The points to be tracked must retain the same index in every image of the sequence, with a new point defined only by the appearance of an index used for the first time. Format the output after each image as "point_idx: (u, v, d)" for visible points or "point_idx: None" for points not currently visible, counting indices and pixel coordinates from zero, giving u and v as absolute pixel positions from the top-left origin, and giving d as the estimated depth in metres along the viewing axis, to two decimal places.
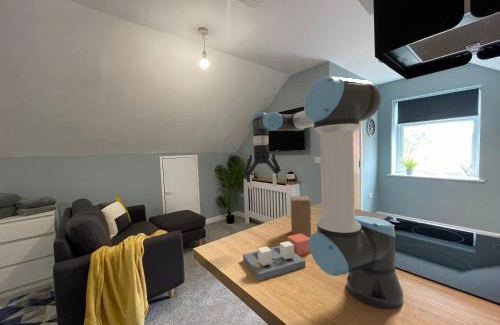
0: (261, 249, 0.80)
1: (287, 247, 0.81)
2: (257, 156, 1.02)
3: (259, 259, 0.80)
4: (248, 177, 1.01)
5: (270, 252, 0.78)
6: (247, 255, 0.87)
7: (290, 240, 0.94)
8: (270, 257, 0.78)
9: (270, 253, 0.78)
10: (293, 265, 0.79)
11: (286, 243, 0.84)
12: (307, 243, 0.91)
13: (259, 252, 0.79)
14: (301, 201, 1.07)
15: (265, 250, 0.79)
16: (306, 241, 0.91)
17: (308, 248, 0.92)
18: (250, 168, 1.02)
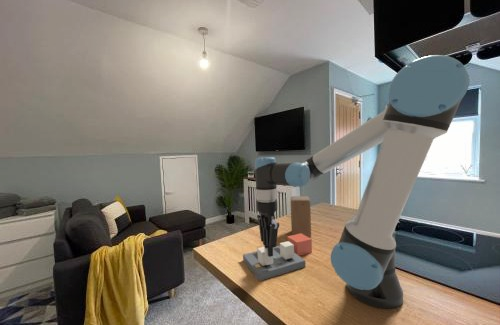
0: (261, 249, 0.80)
1: (287, 247, 0.81)
2: (261, 213, 0.78)
3: (259, 259, 0.80)
4: (265, 247, 0.77)
5: None
6: (247, 255, 0.87)
7: (290, 240, 0.94)
8: None
9: None
10: (293, 265, 0.79)
11: (286, 243, 0.84)
12: (307, 243, 0.91)
13: (259, 252, 0.79)
14: (301, 201, 1.07)
15: None
16: (306, 241, 0.91)
17: (308, 248, 0.92)
18: None
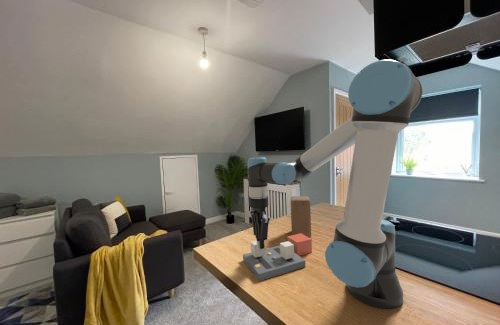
0: (254, 242, 0.86)
1: (287, 247, 0.81)
2: (253, 209, 0.84)
3: (252, 251, 0.86)
4: None
5: None
6: (247, 255, 0.87)
7: (290, 240, 0.94)
8: None
9: None
10: (293, 265, 0.79)
11: (286, 243, 0.84)
12: (307, 243, 0.91)
13: (252, 245, 0.86)
14: (301, 201, 1.07)
15: None
16: (306, 241, 0.91)
17: (308, 248, 0.92)
18: None
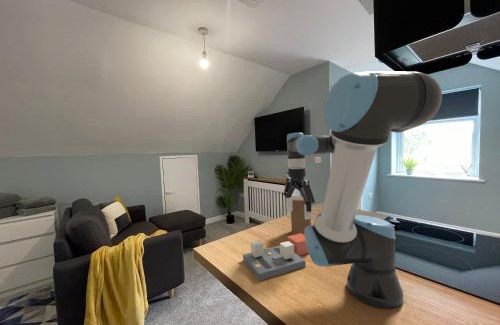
0: (254, 242, 0.86)
1: (287, 247, 0.81)
2: (291, 180, 0.95)
3: (252, 251, 0.86)
4: (286, 199, 1.00)
5: (262, 245, 0.85)
6: (247, 255, 0.87)
7: (290, 240, 0.94)
8: (262, 249, 0.85)
9: (262, 246, 0.85)
10: (293, 265, 0.79)
11: (286, 243, 0.84)
12: None
13: (252, 245, 0.86)
14: (301, 201, 1.07)
15: (257, 243, 0.85)
16: None
17: None
18: None
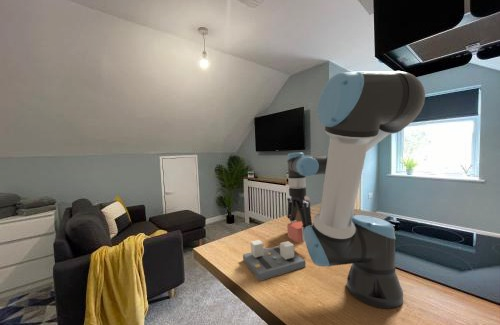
0: (254, 242, 0.86)
1: (287, 247, 0.81)
2: (292, 198, 0.95)
3: (252, 251, 0.86)
4: (291, 222, 0.98)
5: (262, 245, 0.85)
6: (247, 255, 0.87)
7: (290, 227, 0.93)
8: (262, 249, 0.85)
9: (262, 246, 0.85)
10: (293, 265, 0.79)
11: (286, 243, 0.84)
12: None
13: (252, 245, 0.86)
14: None
15: (257, 243, 0.85)
16: None
17: None
18: None
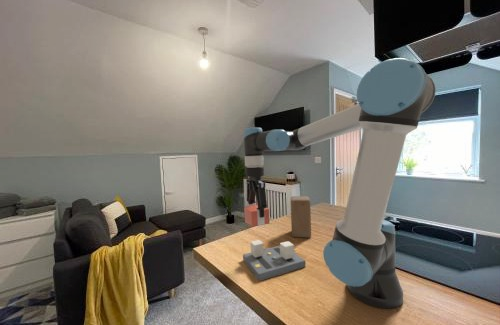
0: (254, 242, 0.86)
1: (287, 247, 0.81)
2: (250, 179, 0.86)
3: (252, 251, 0.86)
4: (249, 205, 0.89)
5: (262, 245, 0.85)
6: (247, 255, 0.87)
7: (246, 210, 0.85)
8: (262, 249, 0.85)
9: (262, 246, 0.85)
10: (293, 265, 0.79)
11: (286, 243, 0.84)
12: (264, 213, 0.82)
13: (252, 245, 0.86)
14: (301, 201, 1.07)
15: (257, 243, 0.85)
16: None
17: (265, 219, 0.82)
18: None
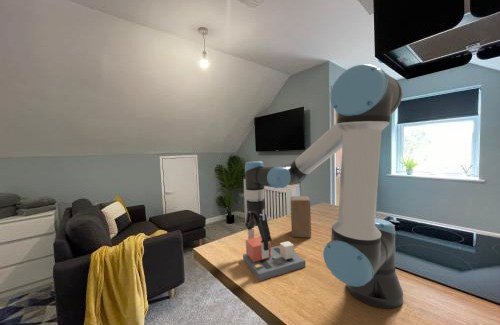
0: None
1: (287, 247, 0.81)
2: (251, 211, 0.87)
3: None
4: None
5: None
6: (247, 255, 0.87)
7: (247, 244, 0.85)
8: None
9: None
10: (293, 265, 0.79)
11: (286, 243, 0.84)
12: None
13: None
14: (301, 201, 1.07)
15: None
16: None
17: None
18: None
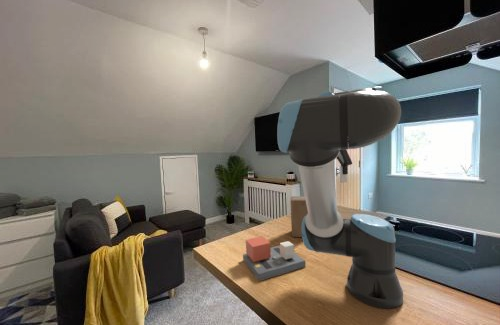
0: None
1: (287, 247, 0.81)
2: None
3: None
4: None
5: None
6: (247, 255, 0.87)
7: (247, 244, 0.85)
8: None
9: None
10: (293, 265, 0.79)
11: (286, 243, 0.84)
12: (265, 247, 0.82)
13: None
14: (301, 201, 1.07)
15: None
16: (264, 245, 0.82)
17: (266, 253, 0.83)
18: None
